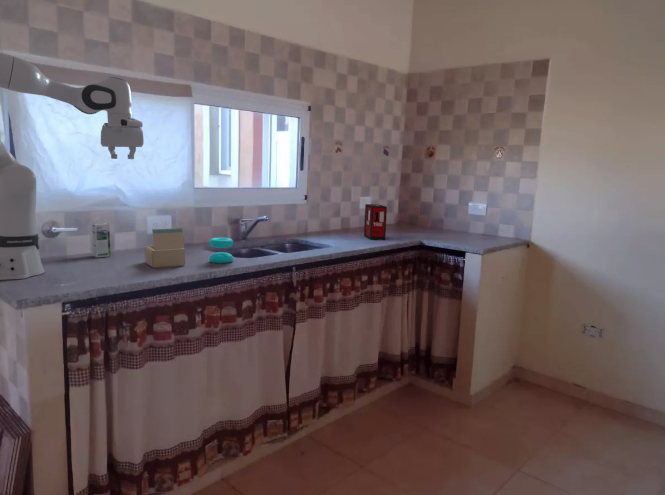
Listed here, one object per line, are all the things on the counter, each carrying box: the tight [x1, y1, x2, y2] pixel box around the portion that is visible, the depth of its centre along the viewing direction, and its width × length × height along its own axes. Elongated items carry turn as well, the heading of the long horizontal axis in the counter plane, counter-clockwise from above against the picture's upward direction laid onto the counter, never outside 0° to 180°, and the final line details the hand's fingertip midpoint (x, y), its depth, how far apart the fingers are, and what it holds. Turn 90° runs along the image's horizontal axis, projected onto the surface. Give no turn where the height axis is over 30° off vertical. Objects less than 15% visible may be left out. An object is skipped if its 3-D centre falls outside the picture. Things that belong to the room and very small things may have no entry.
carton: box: [144, 244, 186, 269], centre depth 195 cm, size 13×14×7 cm
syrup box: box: [91, 222, 112, 259], centre depth 205 cm, size 6×6×14 cm
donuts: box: [208, 237, 234, 264], centre depth 203 cm, size 10×10×10 cm
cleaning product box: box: [363, 203, 388, 241], centre depth 289 cm, size 16×9×20 cm, turn 10°
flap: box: [152, 227, 185, 250], centre depth 188 cm, size 12×1×8 cm, turn 124°
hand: (122, 159), depth 184 cm, fingers open, 8 cm apart
